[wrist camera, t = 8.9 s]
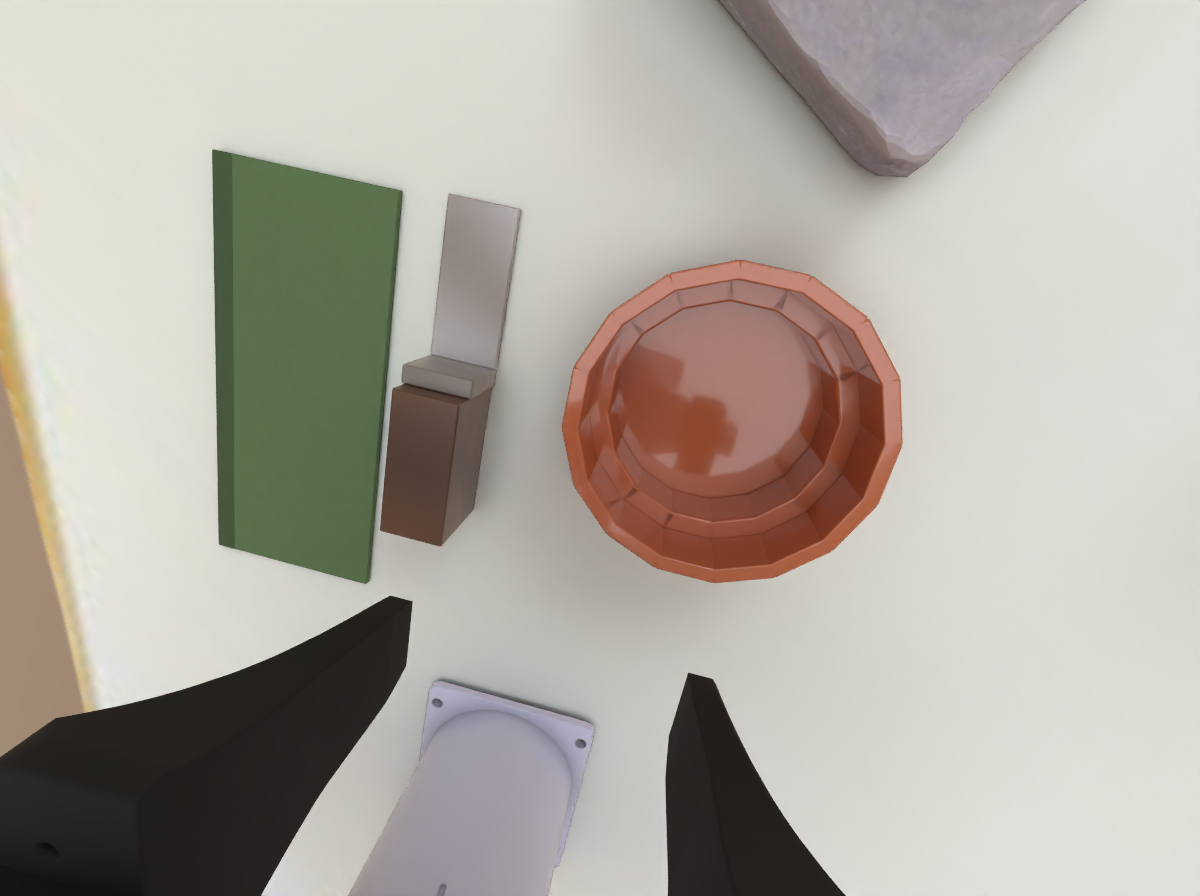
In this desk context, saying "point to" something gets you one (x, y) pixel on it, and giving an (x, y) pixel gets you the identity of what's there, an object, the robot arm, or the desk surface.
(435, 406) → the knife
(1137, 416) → the desk surface
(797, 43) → the stone block
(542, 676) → the desk surface
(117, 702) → the desk surface
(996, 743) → the desk surface
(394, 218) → the green flat rectangular slab
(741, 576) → the bowl
